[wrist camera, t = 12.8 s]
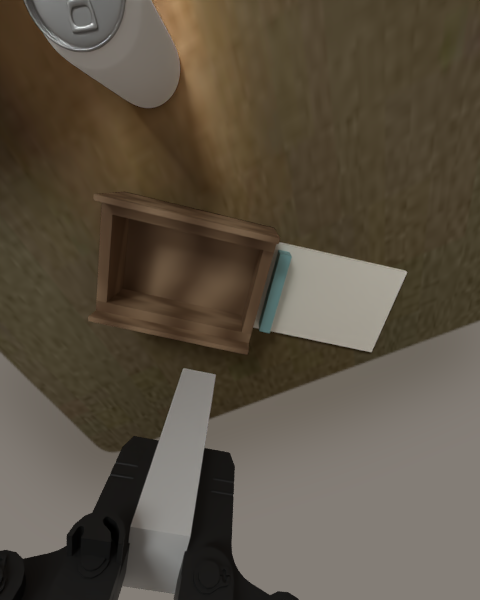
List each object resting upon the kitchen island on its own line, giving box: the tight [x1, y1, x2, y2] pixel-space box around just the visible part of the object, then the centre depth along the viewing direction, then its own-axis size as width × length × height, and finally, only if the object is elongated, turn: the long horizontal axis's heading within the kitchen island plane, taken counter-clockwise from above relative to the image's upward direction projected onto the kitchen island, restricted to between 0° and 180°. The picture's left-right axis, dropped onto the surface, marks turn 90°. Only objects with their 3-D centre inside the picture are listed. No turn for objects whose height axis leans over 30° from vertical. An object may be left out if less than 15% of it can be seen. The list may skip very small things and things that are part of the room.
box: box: [88, 192, 280, 355], centre depth 30 cm, size 16×12×6 cm
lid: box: [253, 242, 407, 352], centre depth 33 cm, size 15×10×3 cm
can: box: [24, 0, 180, 108], centre depth 21 cm, size 6×6×12 cm
